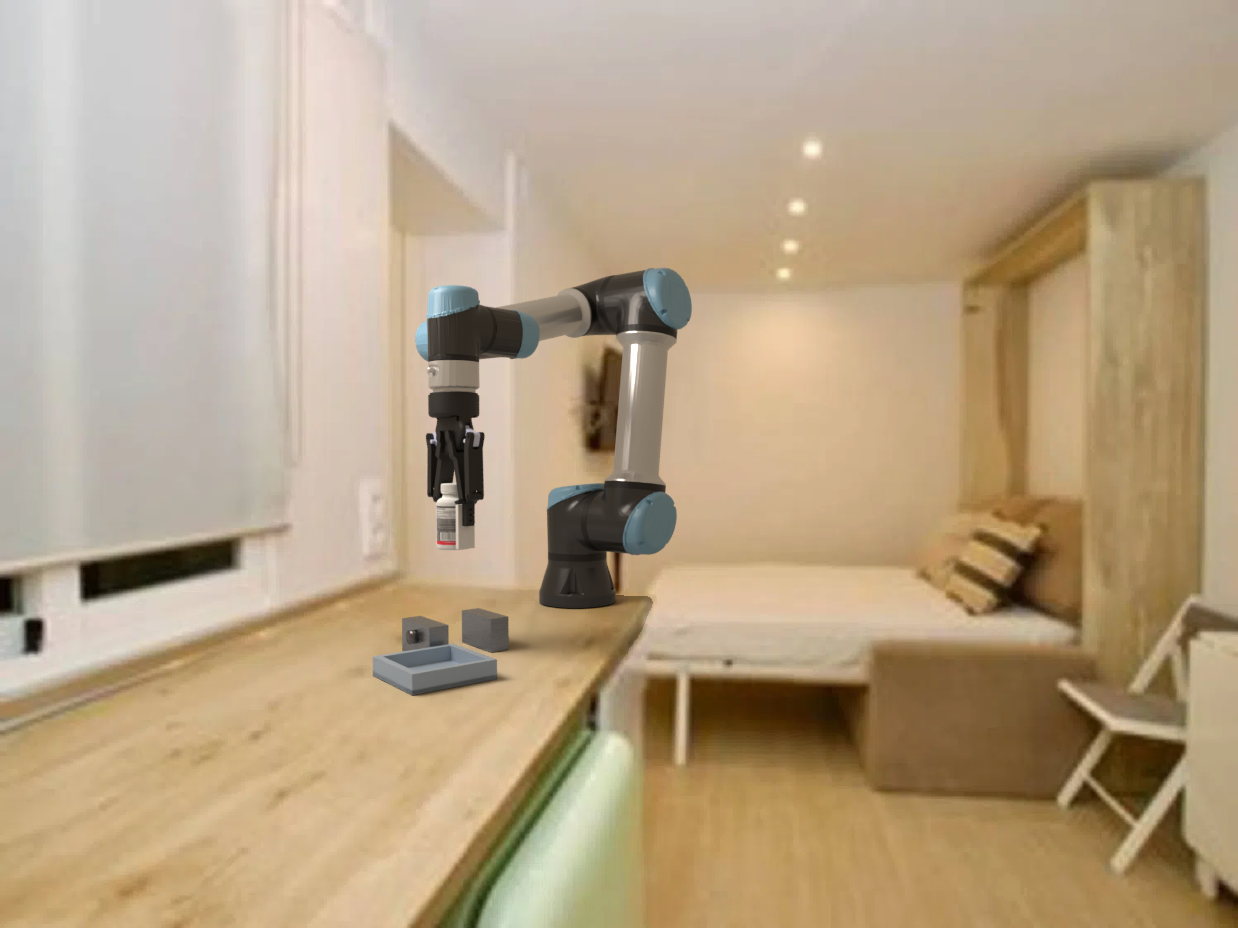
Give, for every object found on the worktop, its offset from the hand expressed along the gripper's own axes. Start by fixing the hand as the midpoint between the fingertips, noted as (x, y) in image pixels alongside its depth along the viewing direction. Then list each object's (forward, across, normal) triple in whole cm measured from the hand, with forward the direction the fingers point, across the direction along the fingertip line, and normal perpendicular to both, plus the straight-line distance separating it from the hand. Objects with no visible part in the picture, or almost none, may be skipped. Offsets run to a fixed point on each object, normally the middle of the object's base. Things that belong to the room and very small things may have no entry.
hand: (455, 546), depth 130 cm
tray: (+16, +12, -10) cm, 22 cm away
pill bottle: (+1, 0, 0) cm, 1 cm away
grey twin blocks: (+16, 0, 0) cm, 16 cm away
